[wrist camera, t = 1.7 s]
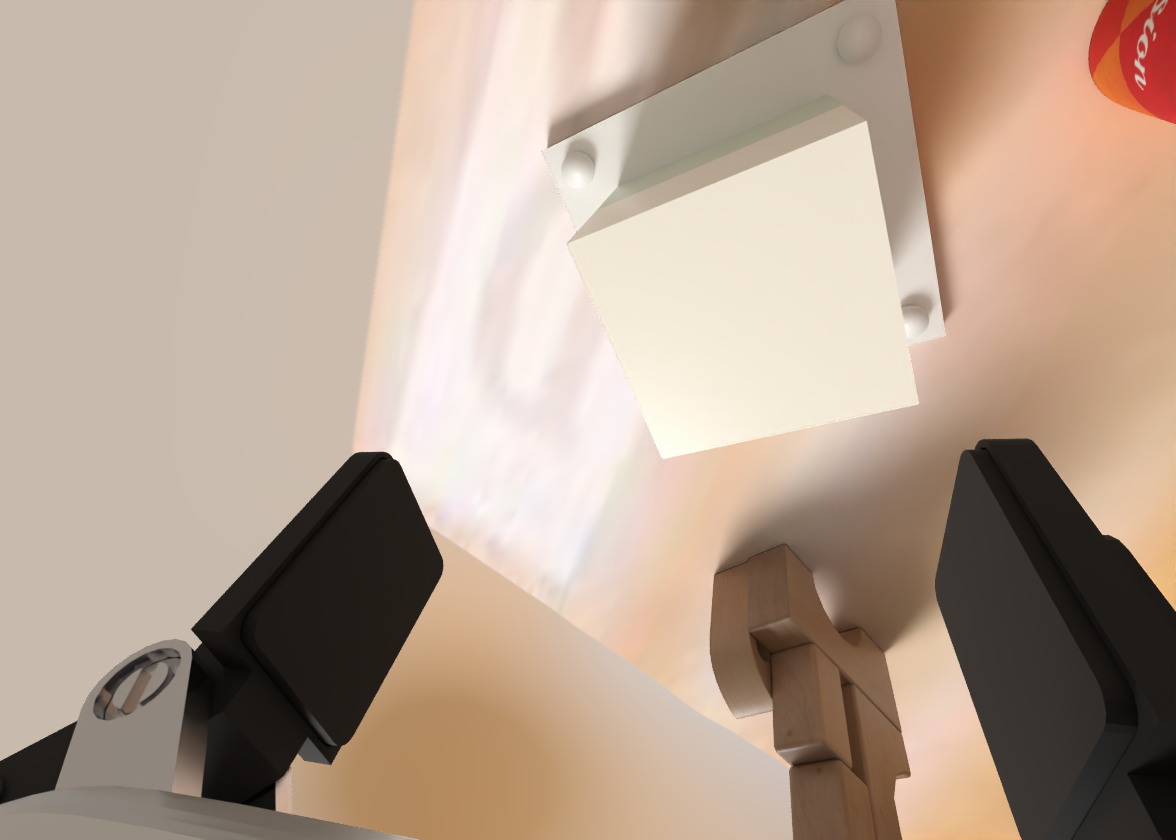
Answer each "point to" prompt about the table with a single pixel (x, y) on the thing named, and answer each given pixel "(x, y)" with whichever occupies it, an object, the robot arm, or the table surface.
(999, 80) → the table surface
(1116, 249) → the table surface
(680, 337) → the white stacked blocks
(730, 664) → the wooden toy
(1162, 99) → the paper cup
